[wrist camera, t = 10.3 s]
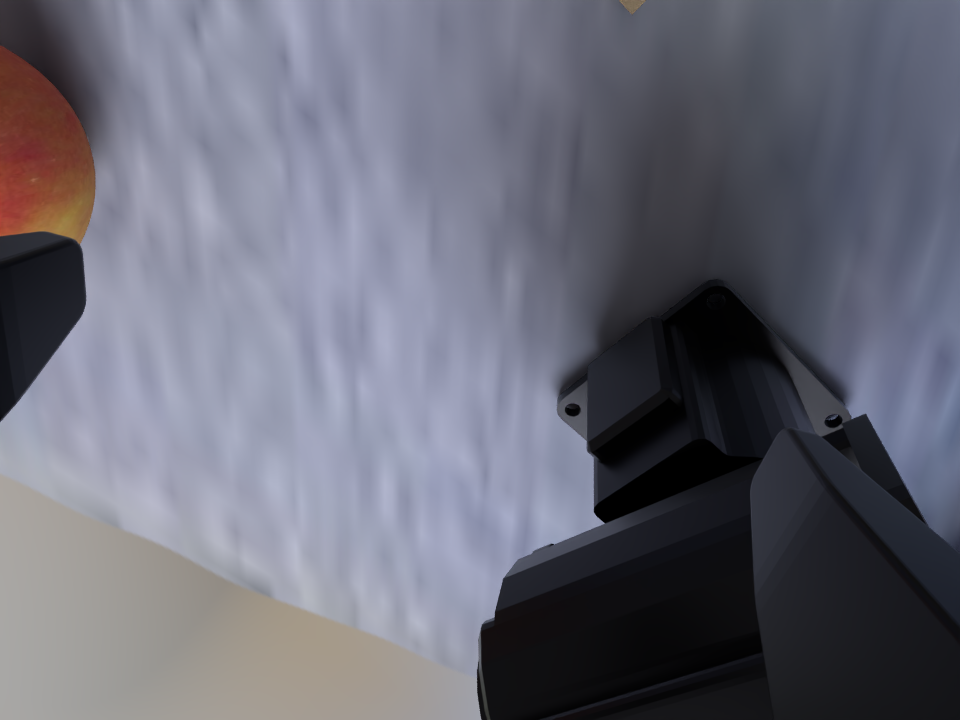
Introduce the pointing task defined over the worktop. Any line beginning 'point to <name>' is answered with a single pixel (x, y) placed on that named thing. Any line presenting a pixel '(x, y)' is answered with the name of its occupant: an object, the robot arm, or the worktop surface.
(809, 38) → the worktop surface
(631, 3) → the carrier plate
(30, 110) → the apple
